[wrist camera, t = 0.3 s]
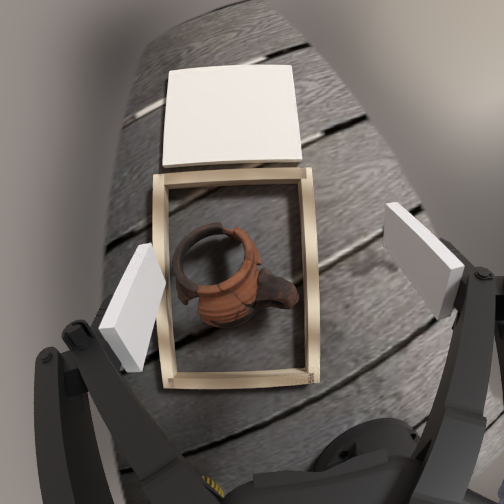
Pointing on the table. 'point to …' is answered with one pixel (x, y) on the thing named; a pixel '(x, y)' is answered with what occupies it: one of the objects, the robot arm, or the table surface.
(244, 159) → the ceramic tile
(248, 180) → the frame
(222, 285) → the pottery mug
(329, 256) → the table surface
